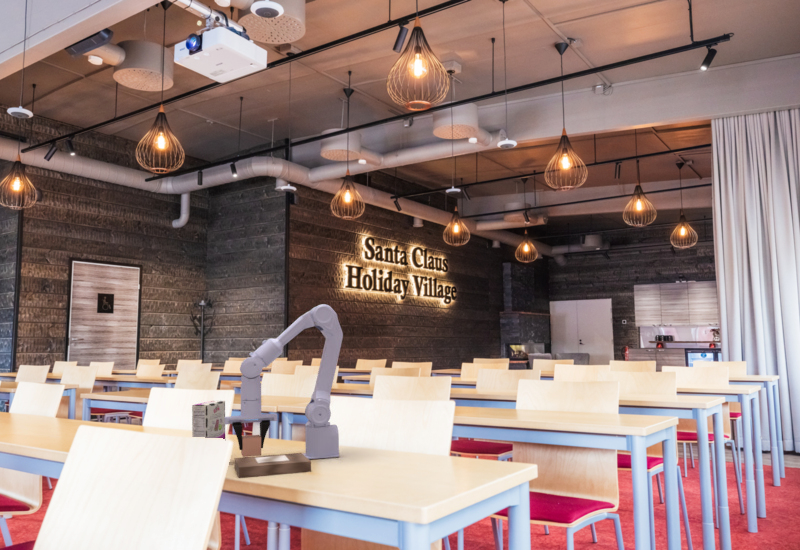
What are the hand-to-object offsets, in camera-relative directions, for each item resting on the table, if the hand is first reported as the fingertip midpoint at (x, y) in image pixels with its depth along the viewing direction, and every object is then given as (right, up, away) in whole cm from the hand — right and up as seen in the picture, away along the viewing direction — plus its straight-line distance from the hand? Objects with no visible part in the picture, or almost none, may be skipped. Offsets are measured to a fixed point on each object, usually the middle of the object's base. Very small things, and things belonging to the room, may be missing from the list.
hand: (251, 448), depth 176 cm
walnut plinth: (+8, -2, -12) cm, 15 cm away
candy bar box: (-13, -5, +4) cm, 15 cm away
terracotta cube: (0, -2, 0) cm, 2 cm away
